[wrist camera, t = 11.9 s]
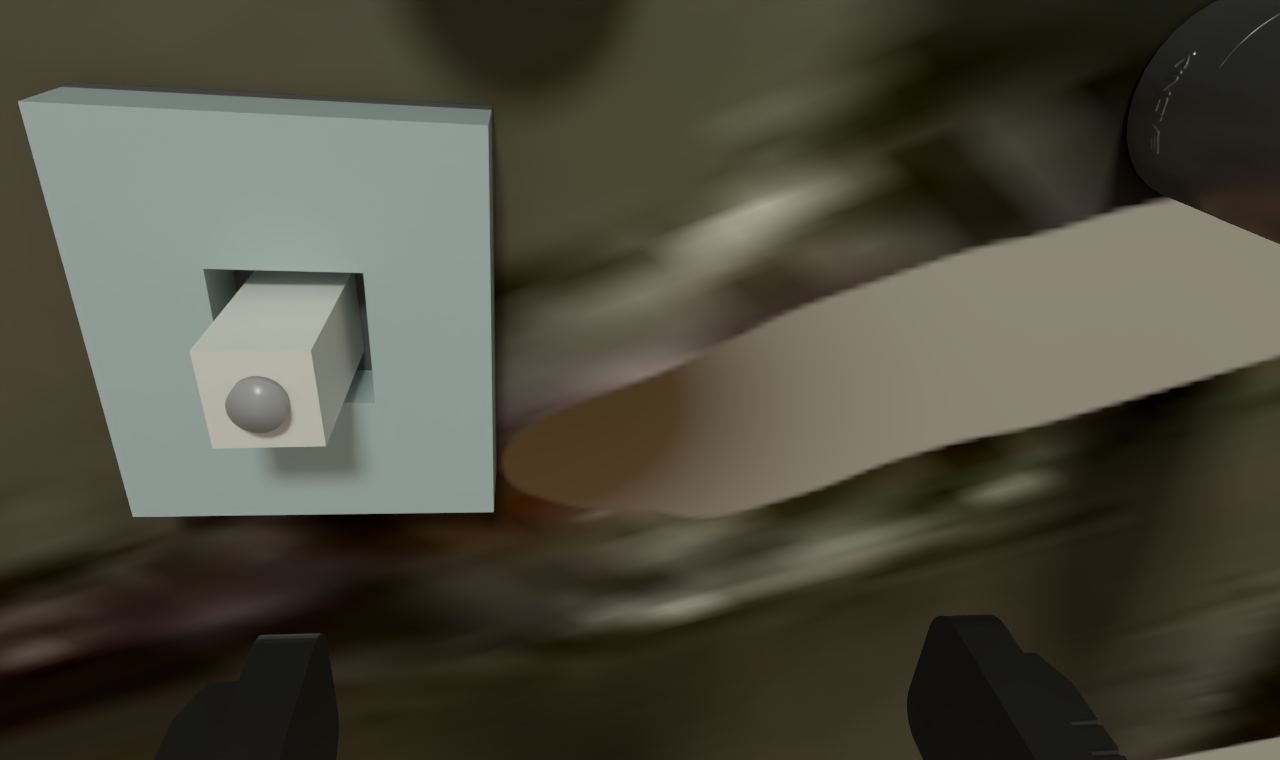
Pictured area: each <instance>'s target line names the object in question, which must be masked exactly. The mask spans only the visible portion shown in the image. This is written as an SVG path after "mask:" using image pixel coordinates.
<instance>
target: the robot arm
mask: <svg viewBox="0 0 1280 760" xmlns="http://www.w3.org/2000/svg"><path fill="white" fill-rule="evenodd" d="M1127 143H1128V150H1129V156H1130V159H1131V161H1132V163H1133V165H1134V168H1135V170H1136V172H1137V174H1138V175H1139V176H1140V177H1141V178H1142V180H1143V181H1144V182H1145V183H1146V184H1147V185H1148V186H1149V187H1151V188H1152V189H1154V190H1155V191H1157V192H1159V193H1160V194H1162V195H1164V196H1167V197H1169V198H1172V199H1174V200H1176V201H1179V202H1181V203H1184V204H1186V205H1188V206H1191V207H1193V208H1195V209H1198V210H1200V211H1203V212H1205V213H1208V214H1210V215H1212V216H1215V217H1217V218H1219V219H1221V220H1223V221H1226V222H1228V223H1230V224H1233V225H1235V226H1238V227H1240V228H1242V229H1245V230H1247V231H1250V232H1252V233H1254V234H1257V235H1259V236H1262V237H1264V238H1266V239H1269V240H1271V241H1274V242H1276V243H1278V244H1280V0H1218V1H1216V2H1214V3H1212V4H1211V5H1209V6H1207V7H1206V8H1204V9H1202V10H1201V11H1199V12H1197V13H1196V14H1194V15H1193V16H1192V17H1191V18H1189V19H1188V20H1187V21H1186V22H1185V23H1184V24H1182V25H1181V26H1180V27H1179V28H1178V29H1176V30H1175V31H1174V32H1173V33H1172V35H1171V36H1170V37H1169V38H1168V39H1167V40H1166V41H1165V43H1164V44H1163V45H1162V46H1161V47H1160V48H1159V49H1158V51H1157V52H1156V54H1155V55H1154V57H1153V58H1152V60H1151V61H1150V63H1149V65H1148V66H1147V68H1146V69H1145V71H1144V72H1143V75H1142V77H1141V79H1140V81H1139V84H1138V86H1137V88H1136V90H1135V93H1134V95H1133V99H1132V103H1131V107H1130V111H1129V115H1128V123H1127ZM907 712H908V720H909V725H910V729H911V732H912V735H913V738H914V740H915V743H916V745H917V747H918V749H919V751H920V753H921V756H922V758H923V760H1127V759H1126V758H1125V756H1120V754H1119V752H1118V747H1117V745H1116V744H1115V742H1114V741H1113V740H1112V738H1111V737H1110V735H1109V734H1108V733H1107V731H1106V730H1105V729H1104V727H1103V726H1099V725H1098V723H1097V717H1096V716H1095V715H1094V713H1093V712H1092V710H1091V709H1090V708H1089V706H1088V705H1087V703H1086V702H1085V701H1084V699H1083V698H1082V696H1081V695H1080V694H1079V692H1078V691H1077V689H1076V688H1075V687H1074V685H1073V684H1072V683H1071V682H1070V681H1069V680H1068V679H1067V678H1065V677H1064V676H1063V675H1062V674H1061V673H1059V672H1058V671H1057V670H1056V669H1055V668H1053V667H1052V666H1051V665H1050V664H1049V663H1047V662H1046V661H1045V660H1044V659H1043V658H1041V657H1040V656H1039V655H1038V654H1037V653H1023V651H1022V650H1021V649H1020V647H1019V646H1018V644H1017V643H1016V641H1015V640H1014V638H1013V637H1012V635H1011V634H1010V632H1009V631H1008V629H1007V628H1006V626H1005V625H1004V624H1003V623H1002V621H1001V620H1000V619H998V618H997V617H996V616H994V615H957V616H938V617H936V618H935V619H934V620H933V621H932V623H931V625H930V627H929V631H928V634H927V637H926V640H925V643H924V646H923V649H922V652H921V655H920V658H919V661H918V664H917V667H916V670H915V673H914V676H913V679H912V682H911V685H910V688H909V692H908V698H907ZM338 733H339V721H338V710H337V704H336V697H335V690H334V684H333V677H332V670H331V664H330V657H329V650H328V644H327V640H326V637H325V635H324V634H323V633H317V634H285V635H260V636H259V637H258V638H257V639H256V640H255V642H254V644H253V646H252V648H251V650H250V653H249V656H248V658H247V661H246V663H245V666H244V668H243V671H242V673H241V676H240V679H239V681H235V682H209V683H207V684H206V685H205V686H204V687H203V688H202V689H201V690H200V691H199V692H198V693H197V694H196V695H195V696H194V698H193V699H192V700H191V701H190V702H189V703H188V704H187V705H186V706H185V707H184V708H183V709H182V710H181V711H180V712H179V713H178V714H177V716H176V717H175V718H174V719H173V720H172V721H171V724H170V726H169V728H168V730H167V732H166V735H165V737H164V739H163V741H162V743H161V746H160V748H159V750H158V752H157V754H156V756H155V759H154V760H336V756H337V747H338Z"/></svg>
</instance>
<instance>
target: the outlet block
mask: <svg viewBox="0 0 1280 760" xmlns="http://www.w3.org/2000/svg"><path fill="white" fill-rule="evenodd" d="M18 103H19V107H20V111H21V114H22V118H23V122H24V125H25V129H26V132H27V136H28V140H29V143H30V147H31V150H32V154H33V158H34V161H35V165H36V168H37V172H38V176H39V179H40V183H41V187H42V190H43V194H44V197H45V201H46V205H47V208H48V212H49V215H50V219H51V223H52V226H53V230H54V234H55V237H56V241H57V244H58V248H59V252H60V255H61V259H62V262H63V266H64V270H65V273H66V277H67V280H68V284H69V288H70V291H71V295H72V299H73V302H74V306H75V309H76V313H77V317H78V320H79V324H80V327H81V331H82V335H83V338H84V342H85V345H86V349H87V353H88V356H89V360H90V364H91V367H92V371H93V374H94V378H95V382H96V385H97V389H98V392H99V396H100V400H101V403H102V407H103V411H104V414H105V418H106V421H107V425H108V429H109V432H110V436H111V439H112V443H113V447H114V450H115V454H116V457H117V461H118V465H119V468H120V472H121V476H122V479H123V483H124V486H125V490H126V494H127V497H128V501H129V504H130V508H131V512H132V515H133V517H164V516H241V515H317V514H394V513H470V512H494V500H495V484H496V468H497V442H496V353H495V265H494V176H493V105H476V104H458V103H440V102H421V101H403V100H385V99H366V98H348V97H330V96H311V95H293V94H275V93H257V92H238V91H220V90H202V89H183V88H165V87H147V86H128V85H110V84H92V83H71V84H68V85H65V86H62V87H59V88H56V89H53V90H50V91H47V92H44V93H41V94H38V95H35V96H32V97H29V98H26V99H23V100H20V101H18ZM255 270H264V271H303V272H341V273H355V280H356V288H357V296H358V304H359V312H360V320H361V328H362V337H363V345H364V352H363V355H362V357H361V360H360V362H359V365H358V367H357V370H356V372H355V375H354V377H353V380H352V382H351V385H350V387H349V390H348V392H347V395H346V397H345V400H344V402H343V405H342V407H341V410H340V412H339V415H338V417H337V420H336V423H335V425H334V428H333V430H332V433H331V435H330V438H329V440H328V443H327V445H326V446H317V447H268V448H218V449H213V448H212V444H211V440H210V436H209V432H208V427H207V423H206V419H205V415H204V410H203V406H202V402H201V398H200V394H199V389H198V385H197V381H196V377H195V372H194V368H193V364H192V360H191V356H190V350H191V349H192V347H193V346H194V345H195V344H196V342H197V341H198V340H199V339H200V337H201V336H202V335H203V334H204V333H205V331H206V330H207V329H208V328H209V326H210V325H211V324H212V323H213V321H214V320H215V319H216V318H217V317H218V315H219V314H220V313H221V312H222V310H223V309H224V308H225V307H226V305H227V304H228V303H229V302H230V300H231V299H232V298H233V297H234V296H235V294H236V293H237V292H238V291H239V289H240V288H241V287H242V286H243V284H244V283H245V282H246V281H247V280H248V278H249V277H250V276H251V275H252V273H253V272H254V271H255Z"/></svg>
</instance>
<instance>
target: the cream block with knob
mask: <svg viewBox="0 0 1280 760" xmlns="http://www.w3.org/2000/svg"><path fill="white" fill-rule="evenodd" d="M363 352H364V345H363V337H362V328H361V320H360V312H359V304H358V296H357V288H356V280H355V273H341V272H303V271H264V270H255V271H254V272H253V273H252V275H251V276H250V277H249V278H248V280H247V281H246V282H245V283H244V284H243V286H242V287H241V288H240V289H239V291H238V292H237V293H236V294H235V296H234V297H233V298H232V299H231V300H230V302H229V303H228V304H227V305H226V307H225V308H224V309H223V310H222V312H221V313H220V314H219V315H218V317H217V318H216V319H215V320H214V321H213V323H212V324H211V325H210V326H209V328H208V329H207V330H206V331H205V333H204V334H203V335H202V336H201V337H200V339H199V340H198V341H197V342H196V344H195V345H194V346H193V347H192V349H191V350H190V356H191V360H192V364H193V368H194V372H195V377H196V381H197V385H198V389H199V394H200V398H201V402H202V406H203V410H204V415H205V419H206V423H207V427H208V432H209V436H210V440H211V444H212V448H213V449H218V448H268V447H317V446H326V445H327V443H328V440H329V438H330V435H331V433H332V430H333V428H334V425H335V423H336V420H337V417H338V415H339V412H340V410H341V407H342V405H343V402H344V400H345V397H346V395H347V392H348V390H349V387H350V385H351V382H352V380H353V377H354V375H355V372H356V370H357V367H358V365H359V362H360V360H361V357H362V355H363Z"/></svg>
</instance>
